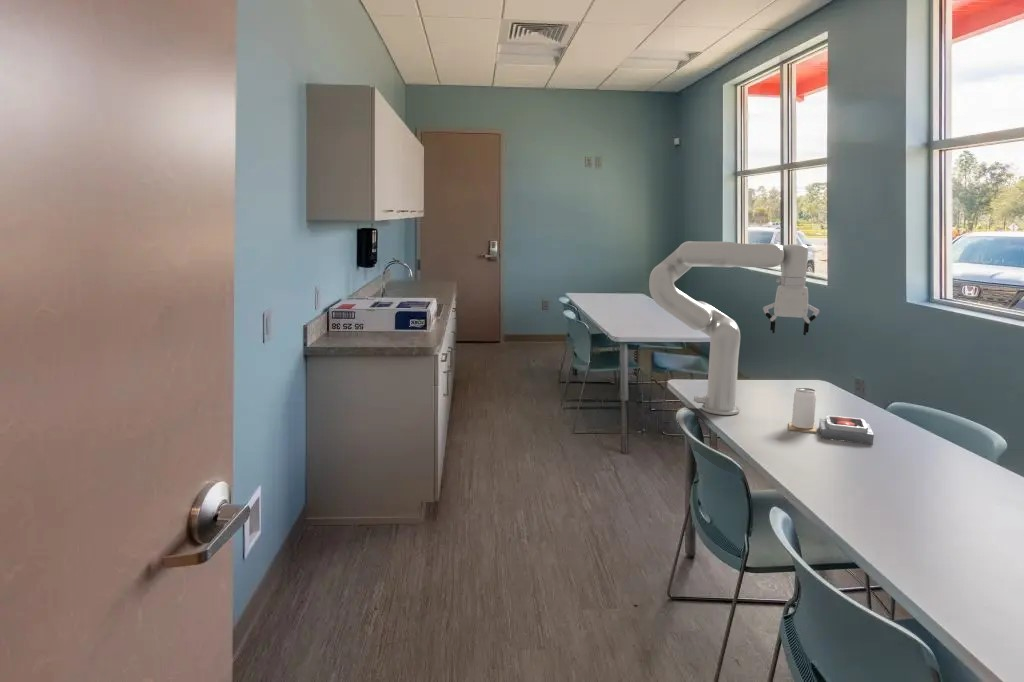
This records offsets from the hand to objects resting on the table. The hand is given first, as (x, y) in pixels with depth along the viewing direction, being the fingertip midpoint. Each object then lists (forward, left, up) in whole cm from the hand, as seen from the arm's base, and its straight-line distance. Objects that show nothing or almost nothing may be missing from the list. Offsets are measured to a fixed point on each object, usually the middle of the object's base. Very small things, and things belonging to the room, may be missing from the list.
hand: (788, 333), depth 221 cm
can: (+6, -13, -28) cm, 31 cm away
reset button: (+18, -16, -27) cm, 36 cm away
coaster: (+6, -13, -28) cm, 32 cm away
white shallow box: (+18, -16, -28) cm, 37 cm away
